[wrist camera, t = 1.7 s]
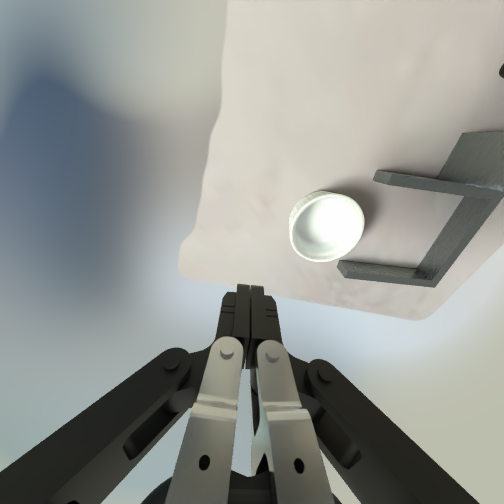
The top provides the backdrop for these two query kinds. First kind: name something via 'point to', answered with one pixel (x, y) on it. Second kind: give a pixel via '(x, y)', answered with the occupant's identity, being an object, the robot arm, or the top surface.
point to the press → (463, 219)
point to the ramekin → (325, 226)
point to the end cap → (502, 71)
